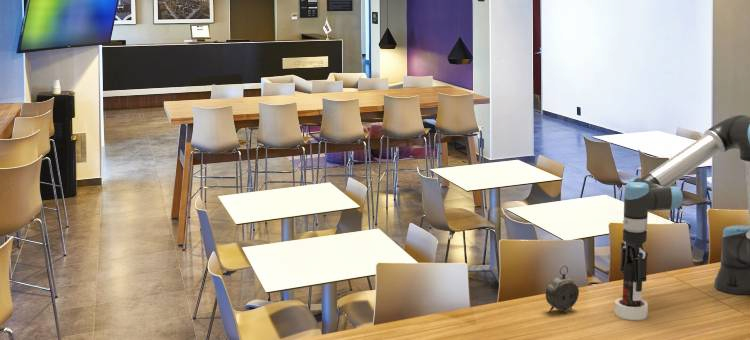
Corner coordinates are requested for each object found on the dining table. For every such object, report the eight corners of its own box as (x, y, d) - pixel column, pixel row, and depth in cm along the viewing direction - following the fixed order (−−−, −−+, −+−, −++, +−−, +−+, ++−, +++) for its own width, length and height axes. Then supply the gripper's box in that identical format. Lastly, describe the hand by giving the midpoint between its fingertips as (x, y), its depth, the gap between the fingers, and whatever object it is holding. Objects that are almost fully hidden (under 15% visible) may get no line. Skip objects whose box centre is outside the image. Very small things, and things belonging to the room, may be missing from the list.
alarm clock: (571, 307, 302) (572, 261, 299) (580, 312, 297) (582, 266, 294) (544, 311, 298) (545, 265, 295) (553, 316, 293) (554, 270, 290)
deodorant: (641, 311, 290) (643, 267, 287) (622, 310, 291) (624, 266, 288) (639, 305, 295) (641, 262, 293) (621, 304, 297) (623, 261, 294)
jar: (637, 308, 300) (638, 296, 299) (653, 318, 290) (653, 306, 289) (609, 310, 298) (610, 299, 297) (624, 321, 288) (624, 309, 287)
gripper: (611, 223, 296) (608, 288, 301) (638, 237, 278) (635, 307, 283) (631, 221, 298) (628, 287, 302) (660, 236, 280) (656, 305, 284)
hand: (632, 296), depth 292 cm, fingers closed on deodorant, 6 cm apart
